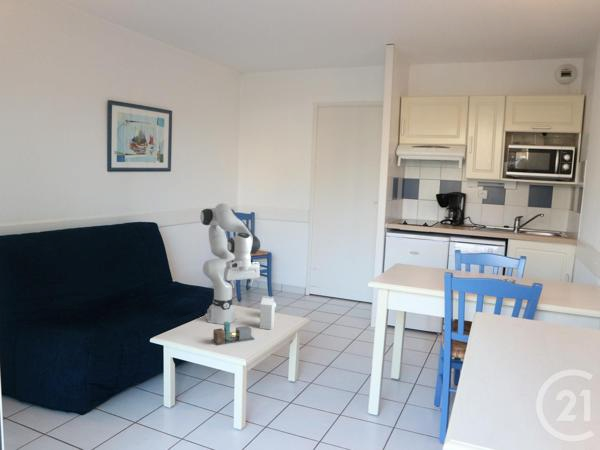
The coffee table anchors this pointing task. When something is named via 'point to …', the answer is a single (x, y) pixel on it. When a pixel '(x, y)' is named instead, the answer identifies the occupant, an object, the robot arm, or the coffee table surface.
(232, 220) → the robot arm
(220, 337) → the socket
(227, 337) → the rod
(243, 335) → the grey base plate
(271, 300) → the milk carton
